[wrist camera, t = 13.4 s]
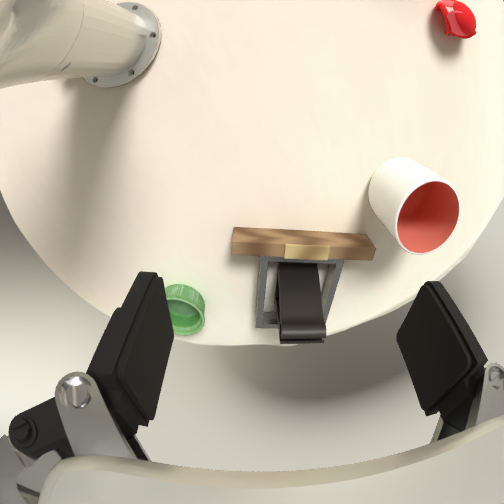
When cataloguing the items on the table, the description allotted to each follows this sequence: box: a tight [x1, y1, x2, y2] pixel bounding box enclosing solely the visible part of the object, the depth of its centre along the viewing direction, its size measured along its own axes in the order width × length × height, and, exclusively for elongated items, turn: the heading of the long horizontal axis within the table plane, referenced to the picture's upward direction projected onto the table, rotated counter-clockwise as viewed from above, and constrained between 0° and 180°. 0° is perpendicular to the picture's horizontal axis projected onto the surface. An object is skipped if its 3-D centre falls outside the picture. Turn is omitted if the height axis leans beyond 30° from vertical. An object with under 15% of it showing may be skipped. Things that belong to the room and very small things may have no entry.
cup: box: [368, 157, 460, 255], centre depth 31 cm, size 10×10×10 cm
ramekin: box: [165, 284, 205, 335], centre depth 46 cm, size 9×9×4 cm
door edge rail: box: [232, 227, 376, 260], centre depth 38 cm, size 20×2×4 cm, turn 88°
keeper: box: [256, 256, 344, 328], centre depth 44 cm, size 12×15×3 cm
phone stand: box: [275, 262, 326, 344], centre depth 40 cm, size 9×6×12 cm, turn 178°
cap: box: [435, 0, 476, 39], centre depth 18 cm, size 8×6×6 cm
